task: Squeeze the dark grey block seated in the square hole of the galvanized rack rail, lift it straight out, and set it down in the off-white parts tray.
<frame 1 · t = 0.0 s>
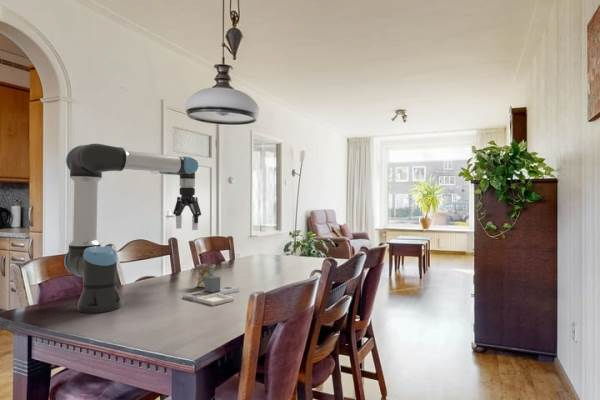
hand: (186, 229, 203), 28 cm above the table, fingers open, 13 cm apart
dark grey block: (212, 285, 182), in the rail
tray: (214, 301, 170), on the table
rail: (212, 294, 182), on the table
mug: (203, 286, 199), on the table
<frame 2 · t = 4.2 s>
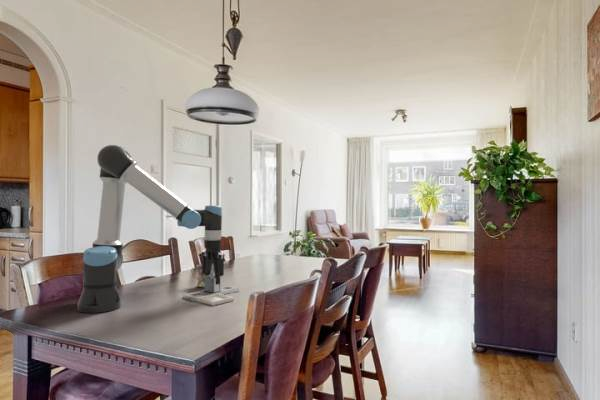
hand: (212, 290, 182), 2 cm above the table, fingers closed on dark grey block, 5 cm apart
dark grey block: (212, 285, 182), in the rail, touching gripper
everything else where it was.
when the fingers open (4 cm above the table, at t = 9.2 s): dark grey block drops 1 cm, resting on tray.
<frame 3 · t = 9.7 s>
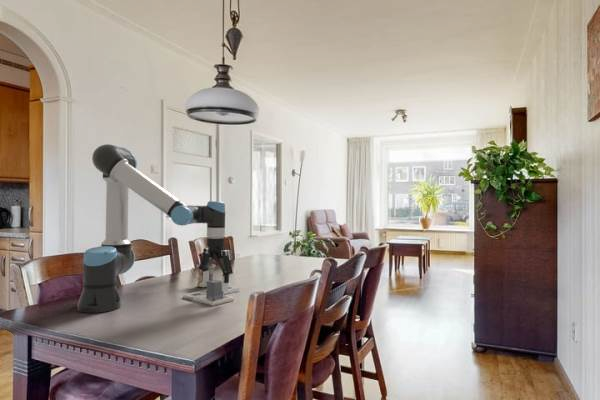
hand: (215, 288, 170), 5 cm above the table, fingers open, 12 cm apart
dark grey block: (214, 290, 170), in the tray
everything else where it was.
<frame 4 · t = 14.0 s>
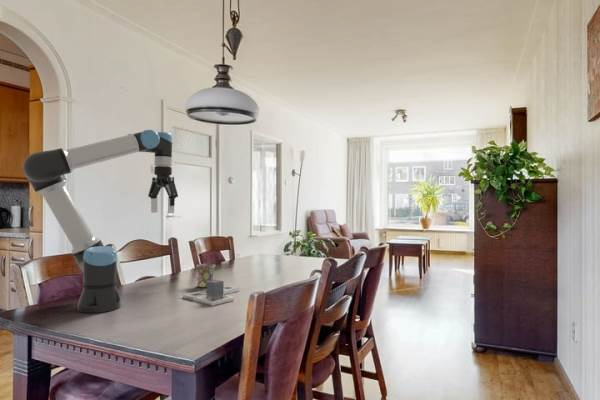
hand: (162, 212, 183), 37 cm above the table, fingers open, 13 cm apart
nothing on the table moved.
at the end: dark grey block inside the target area on the tray (0.1 cm from its centre), point 4.4 cm above the tray's base; dark grey block tilted 0°; the gripper is holding nothing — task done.
